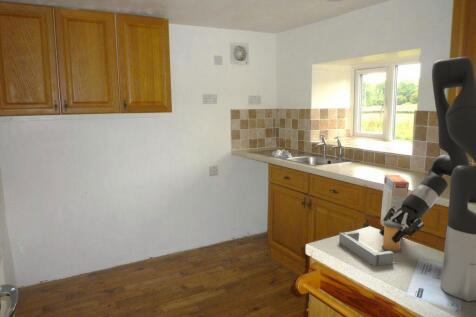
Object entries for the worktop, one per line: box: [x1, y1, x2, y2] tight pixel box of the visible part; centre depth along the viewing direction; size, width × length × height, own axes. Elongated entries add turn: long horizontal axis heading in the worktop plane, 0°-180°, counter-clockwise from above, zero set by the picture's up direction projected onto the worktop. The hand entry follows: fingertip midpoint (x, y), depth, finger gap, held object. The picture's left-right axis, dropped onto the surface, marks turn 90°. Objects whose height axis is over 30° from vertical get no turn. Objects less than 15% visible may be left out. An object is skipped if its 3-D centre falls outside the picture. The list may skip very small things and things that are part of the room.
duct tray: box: [338, 230, 397, 267], centre depth 112 cm, size 19×8×4 cm, turn 16°
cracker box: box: [379, 174, 410, 228], centre depth 132 cm, size 14×6×21 cm, turn 168°
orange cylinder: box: [381, 221, 402, 254], centre depth 115 cm, size 6×6×9 cm
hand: (387, 237), depth 114 cm, fingers closed on orange cylinder, 5 cm apart
